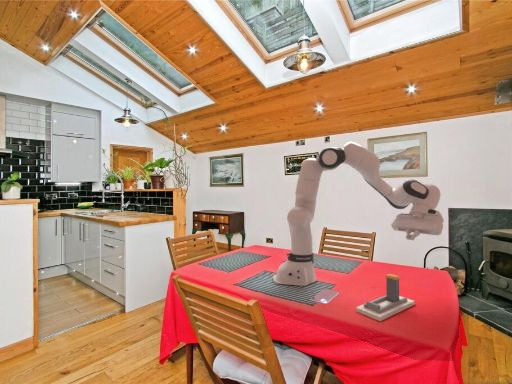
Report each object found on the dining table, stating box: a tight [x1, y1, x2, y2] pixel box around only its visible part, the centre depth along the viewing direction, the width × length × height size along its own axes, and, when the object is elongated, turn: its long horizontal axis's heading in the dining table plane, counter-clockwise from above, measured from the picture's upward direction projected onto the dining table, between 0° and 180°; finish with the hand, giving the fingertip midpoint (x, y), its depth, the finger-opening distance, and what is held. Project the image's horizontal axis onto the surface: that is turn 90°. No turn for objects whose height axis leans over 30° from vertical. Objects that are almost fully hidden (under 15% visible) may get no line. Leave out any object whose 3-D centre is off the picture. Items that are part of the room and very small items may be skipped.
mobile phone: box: [310, 288, 340, 305], centre depth 122 cm, size 8×1×15 cm
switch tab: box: [385, 273, 401, 302], centre depth 112 cm, size 3×4×10 cm, turn 33°
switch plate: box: [355, 294, 416, 322], centre depth 109 cm, size 24×10×4 cm, turn 123°
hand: (409, 239), depth 119 cm, fingers closed
